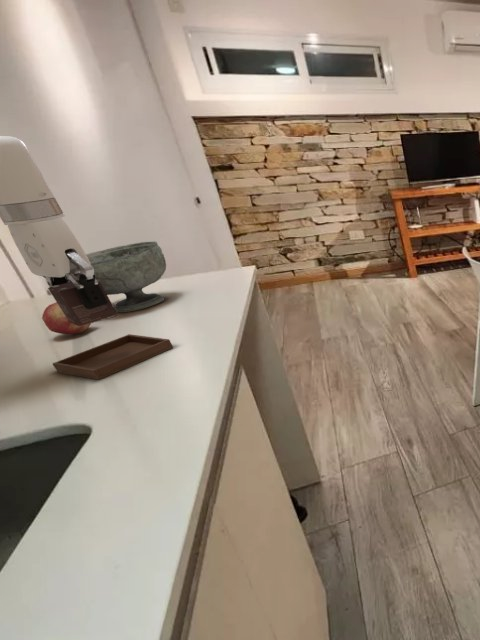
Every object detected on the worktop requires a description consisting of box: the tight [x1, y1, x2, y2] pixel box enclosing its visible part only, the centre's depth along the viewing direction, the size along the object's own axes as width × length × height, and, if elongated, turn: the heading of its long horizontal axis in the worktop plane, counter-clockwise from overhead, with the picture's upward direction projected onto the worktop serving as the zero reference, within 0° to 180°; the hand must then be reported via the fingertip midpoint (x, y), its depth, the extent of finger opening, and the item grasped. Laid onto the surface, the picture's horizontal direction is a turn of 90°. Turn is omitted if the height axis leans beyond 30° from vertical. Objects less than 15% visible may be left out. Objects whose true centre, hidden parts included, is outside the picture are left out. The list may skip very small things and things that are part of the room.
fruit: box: [41, 301, 92, 336], centre depth 110 cm, size 8×8×8 cm
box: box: [47, 280, 119, 326], centre depth 91 cm, size 6×6×7 cm
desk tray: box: [51, 333, 174, 381], centre depth 96 cm, size 13×13×2 cm
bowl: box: [69, 241, 167, 313], centre depth 123 cm, size 20×19×15 cm
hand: (85, 304), depth 91 cm, fingers closed on box, 6 cm apart
